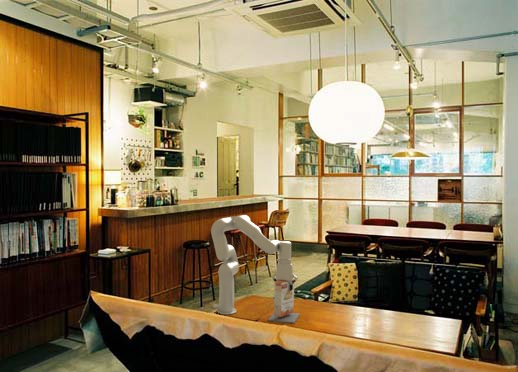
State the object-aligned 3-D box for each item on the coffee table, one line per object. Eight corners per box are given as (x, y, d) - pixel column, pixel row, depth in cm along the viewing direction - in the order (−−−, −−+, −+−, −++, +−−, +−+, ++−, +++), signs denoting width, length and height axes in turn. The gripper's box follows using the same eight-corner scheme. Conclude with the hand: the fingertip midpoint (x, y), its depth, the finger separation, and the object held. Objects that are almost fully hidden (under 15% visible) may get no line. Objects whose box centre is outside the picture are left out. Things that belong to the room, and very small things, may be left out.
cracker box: (281, 317, 261) (282, 282, 261) (273, 315, 265) (273, 281, 265) (294, 312, 272) (294, 278, 272) (286, 310, 276) (286, 277, 276)
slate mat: (267, 321, 262) (267, 319, 262) (274, 312, 279) (274, 311, 279) (294, 323, 258) (294, 322, 258) (299, 315, 275) (299, 313, 275)
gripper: (269, 261, 267) (269, 290, 267) (297, 263, 262) (297, 292, 262) (272, 259, 274) (272, 287, 274) (300, 261, 269) (299, 289, 270)
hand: (284, 289), depth 268 cm, fingers closed on cracker box, 7 cm apart
